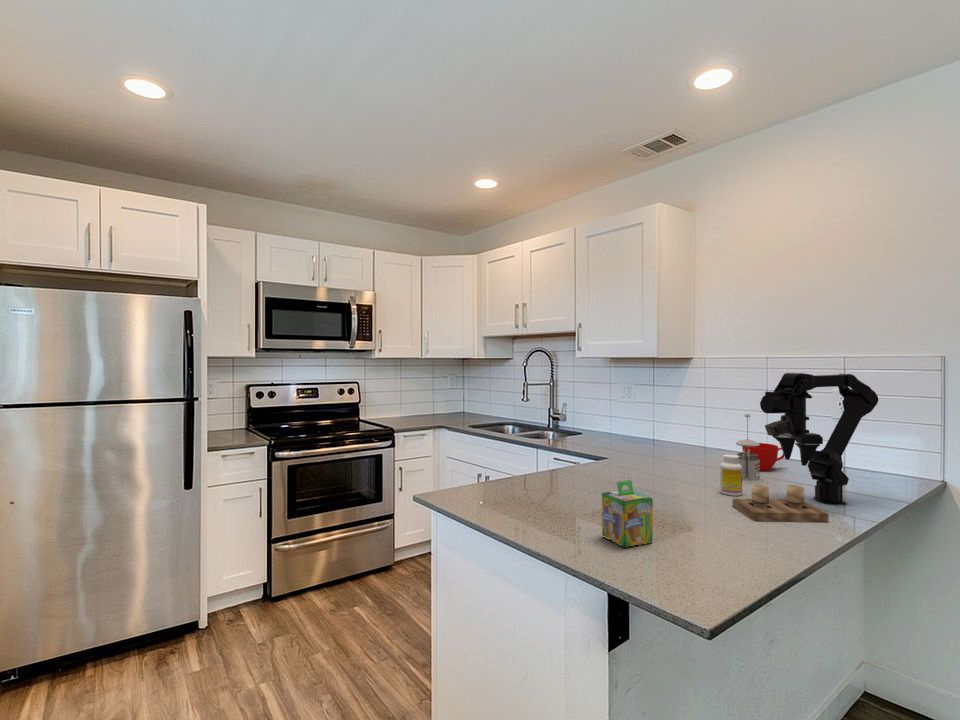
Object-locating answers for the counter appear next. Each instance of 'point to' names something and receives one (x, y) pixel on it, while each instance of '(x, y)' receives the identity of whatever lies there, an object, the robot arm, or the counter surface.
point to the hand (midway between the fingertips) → (795, 462)
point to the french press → (749, 460)
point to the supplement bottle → (731, 476)
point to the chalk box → (627, 516)
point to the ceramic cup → (765, 455)
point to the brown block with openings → (776, 508)
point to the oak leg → (795, 496)
